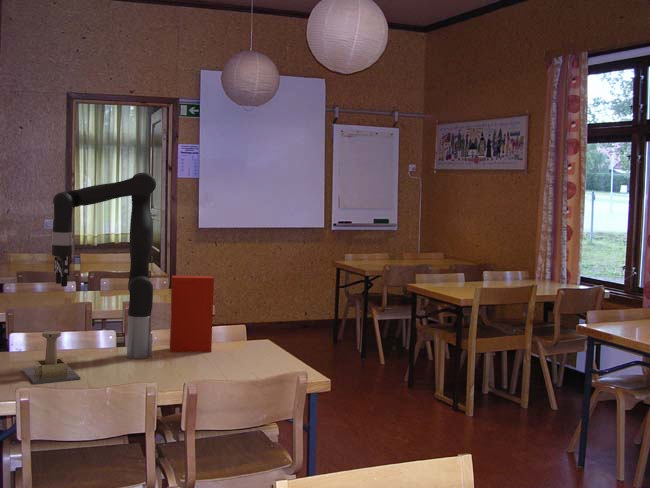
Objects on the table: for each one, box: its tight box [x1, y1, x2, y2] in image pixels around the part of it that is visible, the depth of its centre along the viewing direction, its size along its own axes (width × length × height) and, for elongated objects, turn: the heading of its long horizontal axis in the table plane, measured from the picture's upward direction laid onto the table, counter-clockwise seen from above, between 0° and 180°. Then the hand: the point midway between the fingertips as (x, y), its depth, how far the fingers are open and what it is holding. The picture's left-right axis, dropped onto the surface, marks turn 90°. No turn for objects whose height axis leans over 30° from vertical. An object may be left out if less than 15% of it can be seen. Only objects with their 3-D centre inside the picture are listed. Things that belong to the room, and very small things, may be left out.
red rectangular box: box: [169, 275, 215, 353], centre depth 316 cm, size 8×17×32 cm, turn 104°
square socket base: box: [21, 357, 81, 385], centre depth 268 cm, size 16×20×5 cm
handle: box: [41, 330, 62, 365], centre depth 267 cm, size 5×6×15 cm
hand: (61, 284), depth 286 cm, fingers open, 8 cm apart
